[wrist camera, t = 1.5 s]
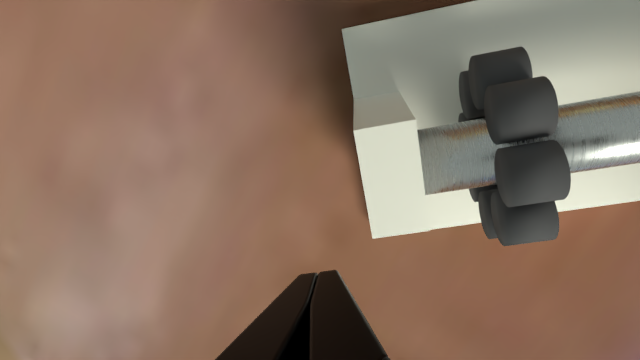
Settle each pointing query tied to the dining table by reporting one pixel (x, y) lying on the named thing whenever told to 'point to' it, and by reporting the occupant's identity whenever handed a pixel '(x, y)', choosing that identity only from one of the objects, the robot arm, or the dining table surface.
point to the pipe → (571, 133)
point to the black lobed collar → (521, 160)
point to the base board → (444, 101)
